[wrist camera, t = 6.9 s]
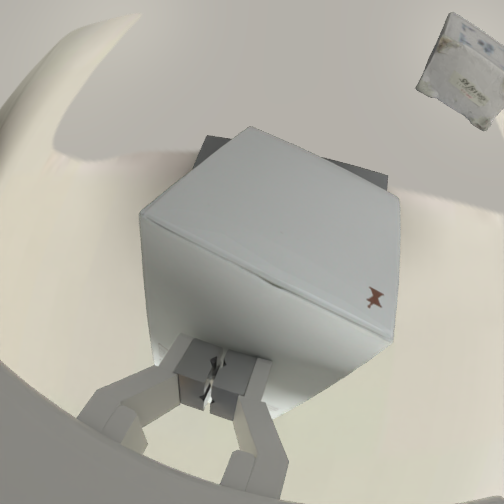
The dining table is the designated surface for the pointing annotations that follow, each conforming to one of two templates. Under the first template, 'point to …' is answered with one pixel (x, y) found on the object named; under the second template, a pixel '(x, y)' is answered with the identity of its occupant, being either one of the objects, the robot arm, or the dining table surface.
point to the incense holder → (466, 72)
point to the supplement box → (274, 264)
